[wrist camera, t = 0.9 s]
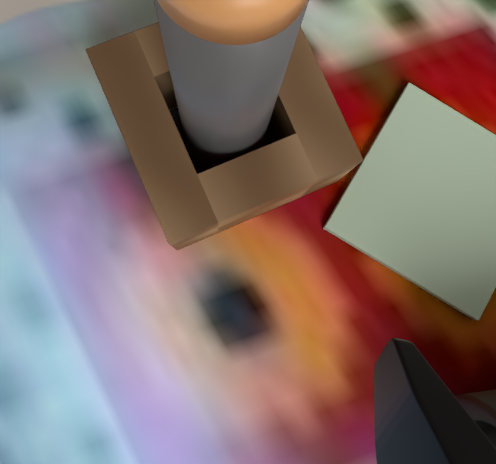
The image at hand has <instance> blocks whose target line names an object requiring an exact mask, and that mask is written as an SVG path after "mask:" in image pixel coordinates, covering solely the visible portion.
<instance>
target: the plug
mask: <svg viewBox="0 0 496 464" xmlns="http://www.w3.org/2000/svg"><path fill="white" fill-rule="evenodd" d="M308 1H309V0H154V3H155V8H156V12H157V17H158V21H159V25H160V30H161V34H162V39H163V43H164V48H165V52H166V57H167V61H168V66H169V70H170V74H171V79H172V83H173V88H174V92H175V97H176V101H177V106H178V110H179V114H180V119H181V123H182V128H183V132H184V137H185V141H186V146H187V148H188V151H189V153H190V155H191V156H192V157H193V159H194V160H195V161H196V162H197V163H198V164H199V165H200V166H202V167H203V168H205V169H207V170H209V169H211V168H213V167H216V166H218V165H221V164H223V163H226V162H228V161H230V160H233V159H235V158H238V157H240V156H243V155H245V154H247V153H250V152H252V151H255V150H257V149H259V148H261V146H262V143H263V140H264V137H265V133H266V130H267V127H268V124H269V121H270V118H271V115H272V112H273V109H274V106H275V103H276V100H277V97H278V94H279V90H280V87H281V84H282V81H283V78H284V75H285V72H286V69H287V66H288V63H289V60H290V57H291V54H292V51H293V47H294V44H295V41H296V38H297V35H298V32H299V29H300V26H301V23H302V20H303V17H304V14H305V11H306V8H307V4H308Z"/></svg>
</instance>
